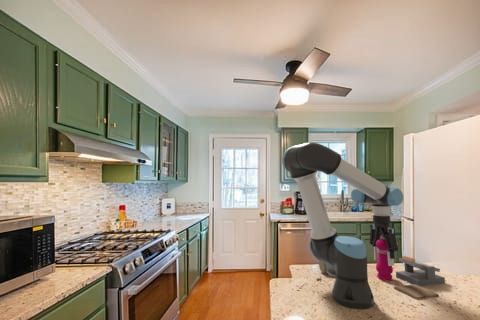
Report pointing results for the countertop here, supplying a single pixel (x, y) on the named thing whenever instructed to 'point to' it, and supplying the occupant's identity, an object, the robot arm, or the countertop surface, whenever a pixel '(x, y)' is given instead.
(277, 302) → the countertop surface
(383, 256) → the pepper mill
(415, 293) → the coaster
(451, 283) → the countertop surface
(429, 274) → the switch housing
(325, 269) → the ceramic mug
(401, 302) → the countertop surface
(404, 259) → the breaker rocker
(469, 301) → the countertop surface
